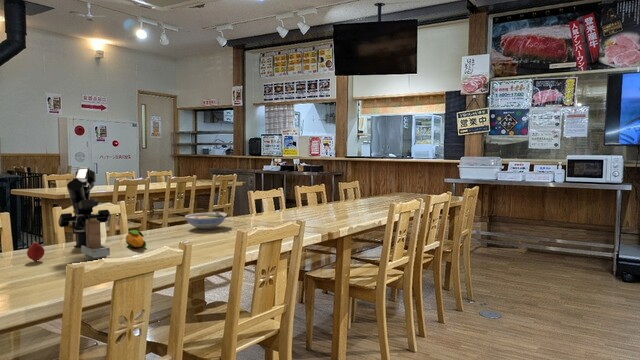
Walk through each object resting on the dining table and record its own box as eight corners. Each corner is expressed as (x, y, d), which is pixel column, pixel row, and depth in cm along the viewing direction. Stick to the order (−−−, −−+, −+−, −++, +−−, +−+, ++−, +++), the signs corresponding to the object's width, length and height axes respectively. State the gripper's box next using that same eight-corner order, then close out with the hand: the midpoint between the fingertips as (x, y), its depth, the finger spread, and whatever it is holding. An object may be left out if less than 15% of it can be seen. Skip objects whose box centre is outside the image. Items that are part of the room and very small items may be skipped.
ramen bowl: (184, 226, 263) (184, 211, 263) (224, 223, 270) (224, 210, 269) (185, 233, 239) (184, 218, 239) (229, 230, 246) (229, 215, 246)
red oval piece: (41, 259, 185) (40, 239, 184) (47, 261, 181) (46, 241, 180) (25, 261, 180) (24, 241, 180) (30, 264, 176) (29, 243, 176)
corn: (139, 226, 216) (149, 232, 199) (141, 242, 216) (151, 250, 200) (122, 229, 212) (131, 235, 195) (124, 245, 212) (133, 253, 196)
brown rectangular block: (86, 247, 185) (85, 218, 185) (96, 246, 188) (95, 217, 187) (91, 249, 182) (89, 219, 181) (101, 248, 185) (99, 218, 184)
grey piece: (78, 257, 186) (78, 245, 186) (99, 254, 192) (99, 242, 192) (91, 263, 176) (90, 250, 176) (112, 259, 182) (112, 246, 182)
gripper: (59, 193, 183) (69, 224, 175) (107, 190, 196) (118, 218, 189) (54, 211, 189) (63, 241, 182) (101, 207, 202) (112, 235, 195)
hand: (90, 233), depth 186 cm, fingers closed, pressing on brown rectangular block
